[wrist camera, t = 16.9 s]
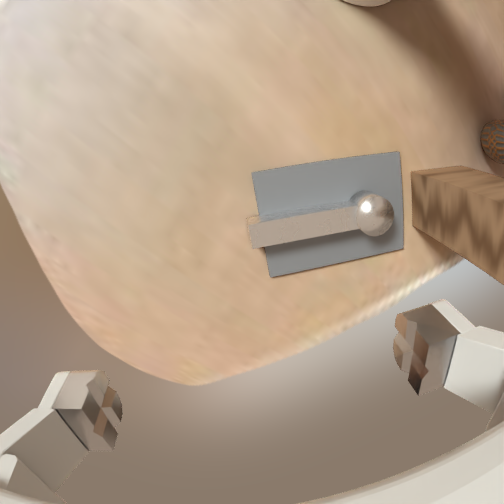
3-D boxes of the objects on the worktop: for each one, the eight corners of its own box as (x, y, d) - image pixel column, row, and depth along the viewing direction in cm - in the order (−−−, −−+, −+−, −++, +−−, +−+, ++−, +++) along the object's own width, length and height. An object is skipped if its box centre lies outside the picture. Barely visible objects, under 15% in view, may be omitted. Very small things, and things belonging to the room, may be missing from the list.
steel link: (244, 210, 40) (247, 219, 36) (379, 188, 40) (393, 194, 37) (251, 247, 42) (254, 259, 38) (380, 223, 42) (394, 232, 38)
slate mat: (251, 172, 39) (251, 173, 38) (397, 151, 39) (399, 152, 39) (269, 275, 44) (270, 277, 44) (401, 246, 44) (403, 248, 44)
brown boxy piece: (404, 161, 40) (575, 221, 14) (465, 155, 40) (617, 204, 14) (407, 236, 44) (545, 343, 18) (465, 223, 44) (596, 303, 18)
